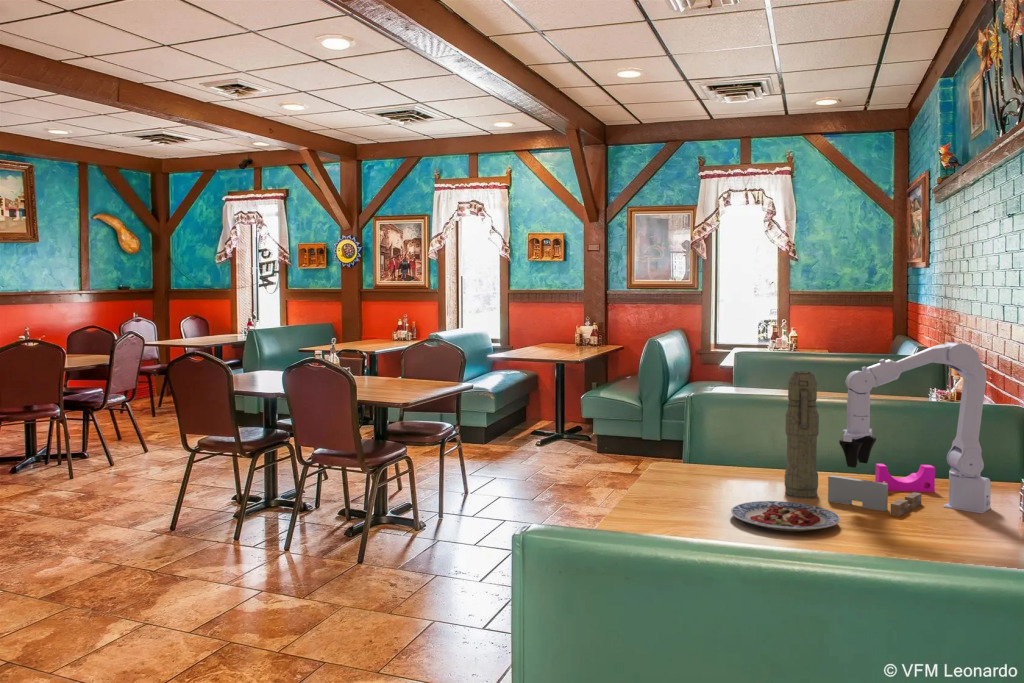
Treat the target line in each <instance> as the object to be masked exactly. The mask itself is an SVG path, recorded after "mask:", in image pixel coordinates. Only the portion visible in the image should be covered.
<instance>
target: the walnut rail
mask: <svg viewBox="0 0 1024 683" xmlns="http://www.w3.org/2000/svg"><path fill="white" fill-rule="evenodd" d="M921 505H922V492H921V493H920V492H916V491H912V493H909V494H907V495H905V496H904V499H902V498H899V499H897V500H895V501H894V502H891V503H890V516H892V517H901V516H902V515H904V514H907V513H908V512H910V511H912V510H914V509H915V508H917V507H919V506H921Z"/></svg>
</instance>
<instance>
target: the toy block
mask: <svg viewBox="0 0 1024 683" xmlns="http://www.w3.org/2000/svg"><path fill="white" fill-rule="evenodd" d="M874 476H875V481H874V482H881V483H887V484H888V491H898V492H899V491H900V492H930V493H934V492H935V490H936V489H935V486H936V482H935V480H936V467H935V466H933V465H931V464H920V465H919V469H918V471H917V472H912V473H910V474H909V475H907V476H905V477H904V476H903V477H895V476H892V475H891V474H890V472H889V470H888V465H886V464H884V463H875V475H874Z"/></svg>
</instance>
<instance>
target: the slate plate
mask: <svg viewBox="0 0 1024 683" xmlns="http://www.w3.org/2000/svg"><path fill="white" fill-rule="evenodd" d="M827 478H828V479H827V480H828V482H827V484H828V485H827V489H828V490H827V491H828V492H827V501H828V502H830V503H837V504H843V505H847V506H850V505H852V504H853V501H855V502H861V503H862V504H861V505H862V506H861V507H862V508H863V509H869V510H870V509H871V510H875V511H880V512H886V511H888V509H889V508H888V507H889V505H888V504H889V503H888V502H889V498H888V497H889V490H888V484H887V483H885V482H883V483H881V482H875V481H873V480H868V479H860V478H854V477H853V478H852V477H846V476H840V475H839V476H838V475H832V474H831V475H828V476H827Z"/></svg>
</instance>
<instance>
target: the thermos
mask: <svg viewBox="0 0 1024 683" xmlns="http://www.w3.org/2000/svg"><path fill="white" fill-rule="evenodd" d="M787 384H788V385H787V386H788V389H787V390H788V391H787V393H788V394H787V400H788V404H787V410H786V412H785V434H786V468H785V471H784V488H785V489H784V490H785V492H784V494H785V495H786V496H788V497H791V498H796V499H797V498H798V499H815V498H817V497H818V489H819V474H818V470H817V455H818V454H817V452H818V451H817V447H818V446H817V445H818V444H817V443H818V442H817V440H818V436H819V431H820V430H819V428H820V426H819V423H820V422H819V421H820V415H819V413H818V412H819V411H818V409H817V408H818V407H817V406H818V405H817V400H818V381H817V379H816V376H815V374H814V373H812V372H811V371H793V372H792V373H791V374H790V376H789V380H788V382H787Z"/></svg>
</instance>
